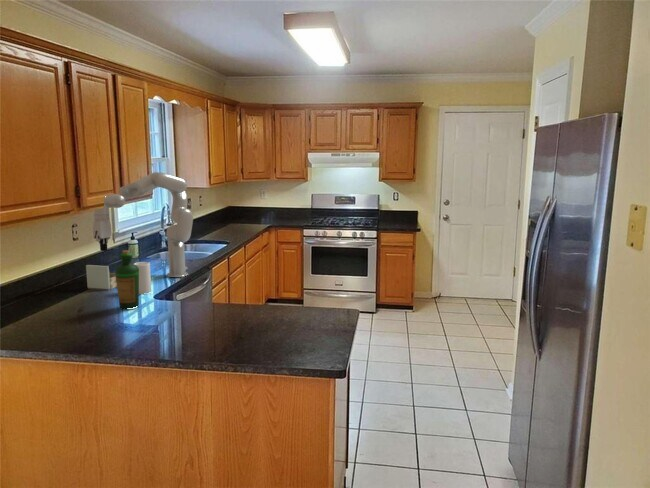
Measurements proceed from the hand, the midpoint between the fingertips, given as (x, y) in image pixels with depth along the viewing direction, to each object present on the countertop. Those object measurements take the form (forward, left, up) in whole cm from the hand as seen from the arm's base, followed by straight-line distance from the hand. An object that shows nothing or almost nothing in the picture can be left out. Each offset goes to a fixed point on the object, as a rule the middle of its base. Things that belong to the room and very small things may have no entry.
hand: (103, 250), depth 252 cm
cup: (+4, +25, -21) cm, 33 cm away
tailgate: (+6, 0, -20) cm, 21 cm away
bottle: (+29, +33, -21) cm, 49 cm away
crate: (-1, 0, -21) cm, 21 cm away
